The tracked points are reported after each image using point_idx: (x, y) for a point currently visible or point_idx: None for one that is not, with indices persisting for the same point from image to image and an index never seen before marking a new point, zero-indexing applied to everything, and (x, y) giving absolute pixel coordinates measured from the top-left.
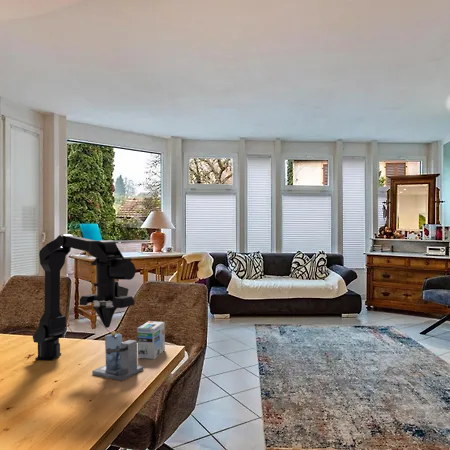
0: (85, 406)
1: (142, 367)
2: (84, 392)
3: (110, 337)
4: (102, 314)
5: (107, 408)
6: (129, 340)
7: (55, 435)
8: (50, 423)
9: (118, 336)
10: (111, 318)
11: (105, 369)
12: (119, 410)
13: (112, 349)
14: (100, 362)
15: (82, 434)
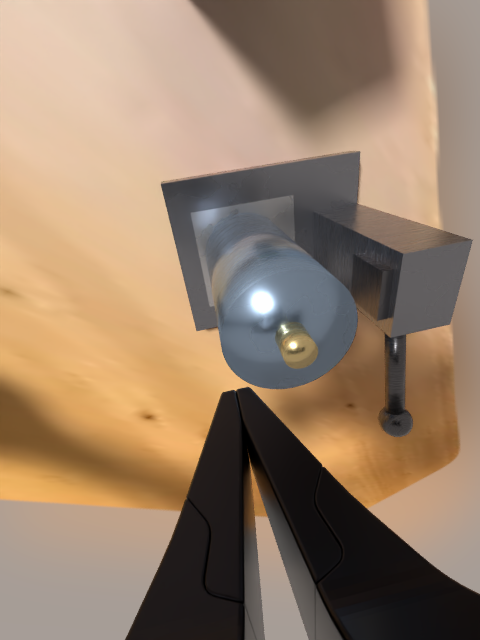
0: (362, 423)
1: (357, 158)
2: (300, 398)
3: (313, 376)
4: (262, 619)
5: (414, 399)
6: (413, 267)
7: (389, 480)
8: (352, 477)
9: (353, 331)
10: (307, 457)
11: None
12: (445, 389)
13: (402, 406)
14: (60, 209)
15: (428, 457)
